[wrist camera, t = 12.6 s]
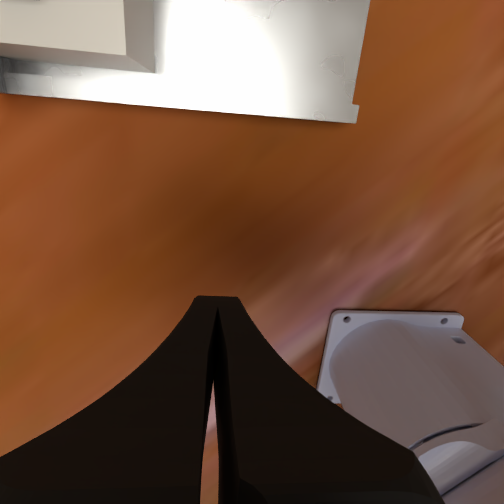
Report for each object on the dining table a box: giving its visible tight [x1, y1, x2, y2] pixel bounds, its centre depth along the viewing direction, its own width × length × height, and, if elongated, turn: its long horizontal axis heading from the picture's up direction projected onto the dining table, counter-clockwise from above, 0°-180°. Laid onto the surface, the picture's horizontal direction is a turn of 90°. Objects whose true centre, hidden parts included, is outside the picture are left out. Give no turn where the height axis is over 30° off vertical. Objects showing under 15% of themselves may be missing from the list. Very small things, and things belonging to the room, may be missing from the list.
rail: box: [0, 0, 370, 123], centre depth 13 cm, size 17×7×5 cm, turn 85°
